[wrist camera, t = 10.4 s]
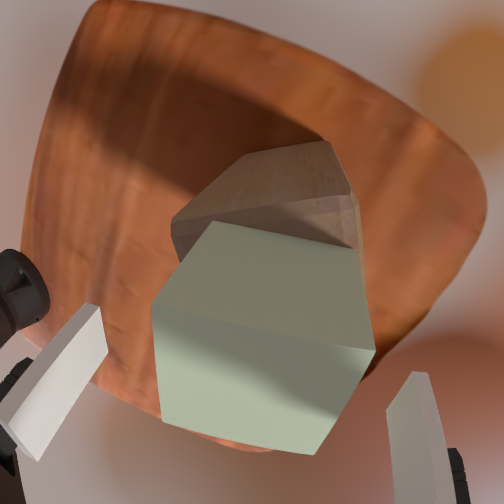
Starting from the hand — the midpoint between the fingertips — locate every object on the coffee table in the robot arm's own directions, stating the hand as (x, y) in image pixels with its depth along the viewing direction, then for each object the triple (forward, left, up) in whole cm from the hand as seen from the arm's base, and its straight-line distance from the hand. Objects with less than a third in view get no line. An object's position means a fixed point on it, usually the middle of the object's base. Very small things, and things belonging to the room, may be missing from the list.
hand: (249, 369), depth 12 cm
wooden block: (0, 0, -26) cm, 26 cm away
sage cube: (0, 0, -6) cm, 6 cm away
